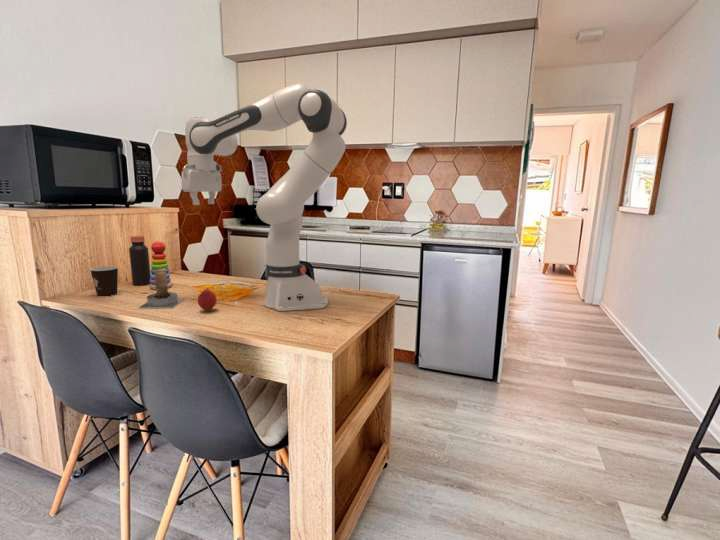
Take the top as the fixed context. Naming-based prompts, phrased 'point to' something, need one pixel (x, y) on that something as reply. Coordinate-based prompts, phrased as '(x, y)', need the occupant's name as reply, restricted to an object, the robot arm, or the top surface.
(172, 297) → the collar
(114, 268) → the coffee mug
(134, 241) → the bottle
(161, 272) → the dowel
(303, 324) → the top surface
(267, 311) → the top surface
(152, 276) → the stacking toy
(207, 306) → the onion
